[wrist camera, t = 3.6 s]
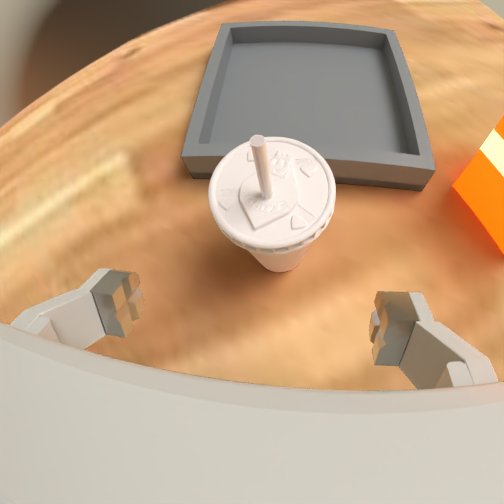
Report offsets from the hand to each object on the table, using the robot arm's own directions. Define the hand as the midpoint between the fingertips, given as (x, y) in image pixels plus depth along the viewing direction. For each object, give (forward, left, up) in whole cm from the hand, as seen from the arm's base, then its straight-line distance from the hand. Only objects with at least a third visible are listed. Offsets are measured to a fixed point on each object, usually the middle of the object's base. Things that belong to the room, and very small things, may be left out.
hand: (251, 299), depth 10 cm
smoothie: (0, +6, -13) cm, 14 cm away
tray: (+2, +22, -13) cm, 26 cm away
